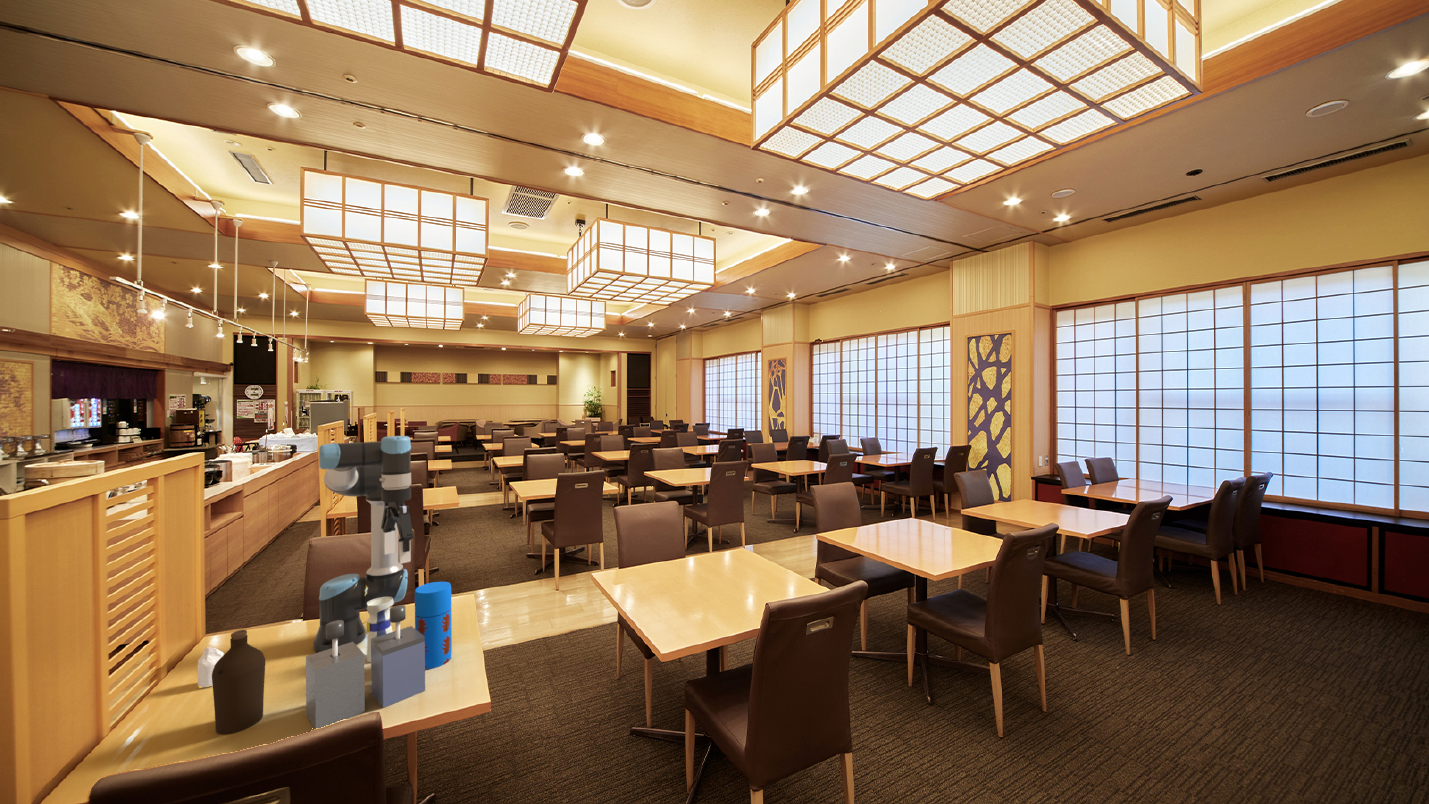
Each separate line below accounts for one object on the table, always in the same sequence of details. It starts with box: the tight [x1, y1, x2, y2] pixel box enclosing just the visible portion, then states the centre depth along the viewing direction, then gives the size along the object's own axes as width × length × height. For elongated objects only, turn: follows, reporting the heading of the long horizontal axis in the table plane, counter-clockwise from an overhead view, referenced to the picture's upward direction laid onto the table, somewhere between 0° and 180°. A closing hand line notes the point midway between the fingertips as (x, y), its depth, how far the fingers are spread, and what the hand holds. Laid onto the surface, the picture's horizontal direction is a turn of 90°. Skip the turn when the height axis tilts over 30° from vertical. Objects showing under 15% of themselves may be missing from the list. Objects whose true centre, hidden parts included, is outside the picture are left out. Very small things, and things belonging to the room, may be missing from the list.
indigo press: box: [370, 625, 426, 709], centre depth 151 cm, size 15×11×16 cm
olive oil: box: [212, 629, 266, 735], centre depth 136 cm, size 11×11×25 cm
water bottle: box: [365, 585, 395, 664], centre depth 171 cm, size 8×9×25 cm
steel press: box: [305, 642, 366, 730], centre depth 141 cm, size 15×11×16 cm
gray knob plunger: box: [390, 604, 407, 640], centre depth 150 cm, size 8×8×20 cm
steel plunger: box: [326, 620, 344, 658], centre depth 140 cm, size 8×8×20 cm
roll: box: [196, 646, 225, 687], centre depth 155 cm, size 6×12×6 cm
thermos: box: [414, 581, 453, 670], centre depth 168 cm, size 11×11×25 cm
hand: (397, 557), depth 150 cm, fingers open, 13 cm apart
